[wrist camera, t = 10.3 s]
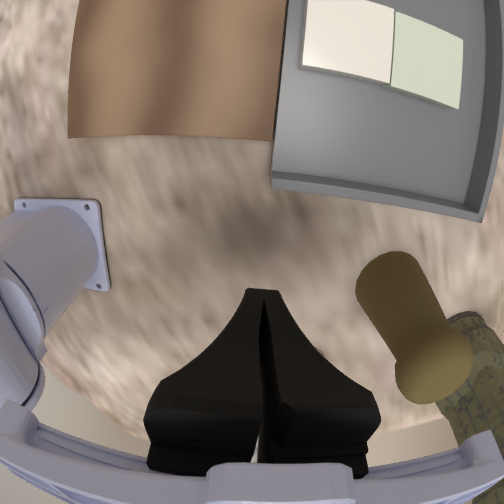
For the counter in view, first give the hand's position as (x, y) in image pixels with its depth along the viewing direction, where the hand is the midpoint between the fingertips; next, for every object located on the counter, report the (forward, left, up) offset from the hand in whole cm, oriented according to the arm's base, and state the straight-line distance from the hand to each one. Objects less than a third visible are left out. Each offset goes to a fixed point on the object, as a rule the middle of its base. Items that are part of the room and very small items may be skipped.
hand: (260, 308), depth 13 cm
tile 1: (+9, +13, -8) cm, 17 cm away
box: (+8, +13, -9) cm, 18 cm away
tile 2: (+4, +13, -8) cm, 16 cm away
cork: (+11, -4, -10) cm, 15 cm away
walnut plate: (-6, +13, -9) cm, 17 cm away
